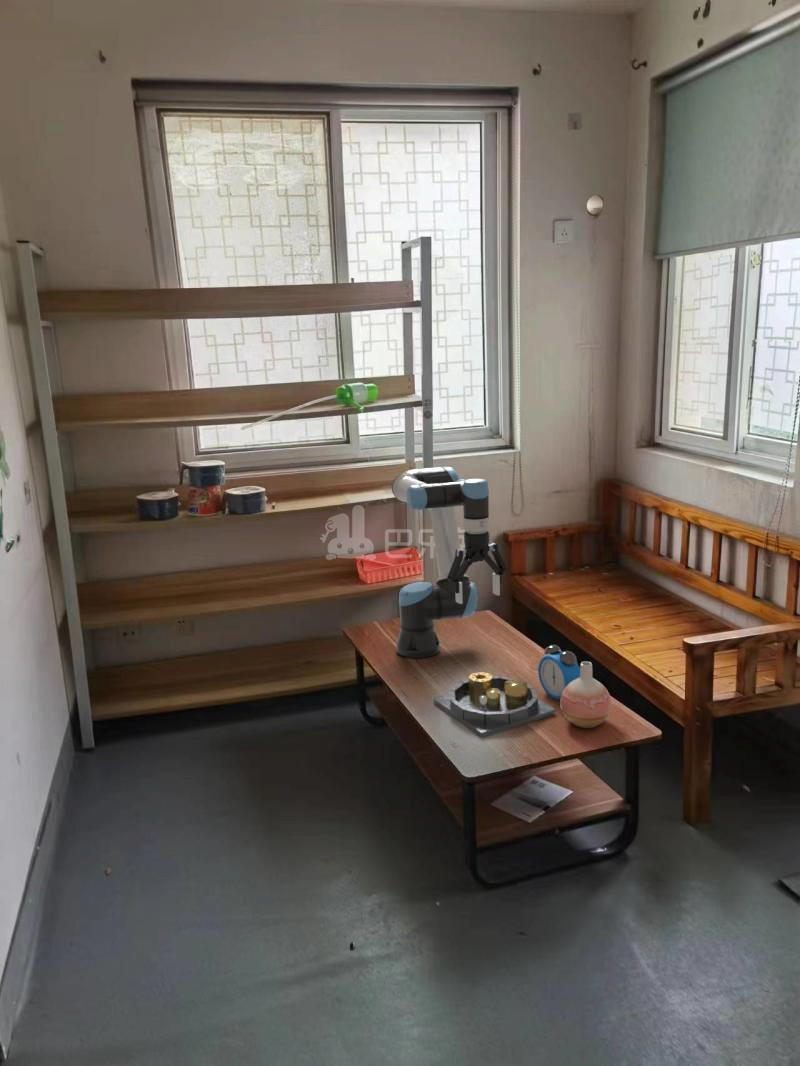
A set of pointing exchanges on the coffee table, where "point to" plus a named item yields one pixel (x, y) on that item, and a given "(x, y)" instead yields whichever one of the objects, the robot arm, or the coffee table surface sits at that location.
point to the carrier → (495, 706)
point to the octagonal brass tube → (479, 684)
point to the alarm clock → (557, 671)
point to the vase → (585, 699)
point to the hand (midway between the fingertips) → (477, 598)
